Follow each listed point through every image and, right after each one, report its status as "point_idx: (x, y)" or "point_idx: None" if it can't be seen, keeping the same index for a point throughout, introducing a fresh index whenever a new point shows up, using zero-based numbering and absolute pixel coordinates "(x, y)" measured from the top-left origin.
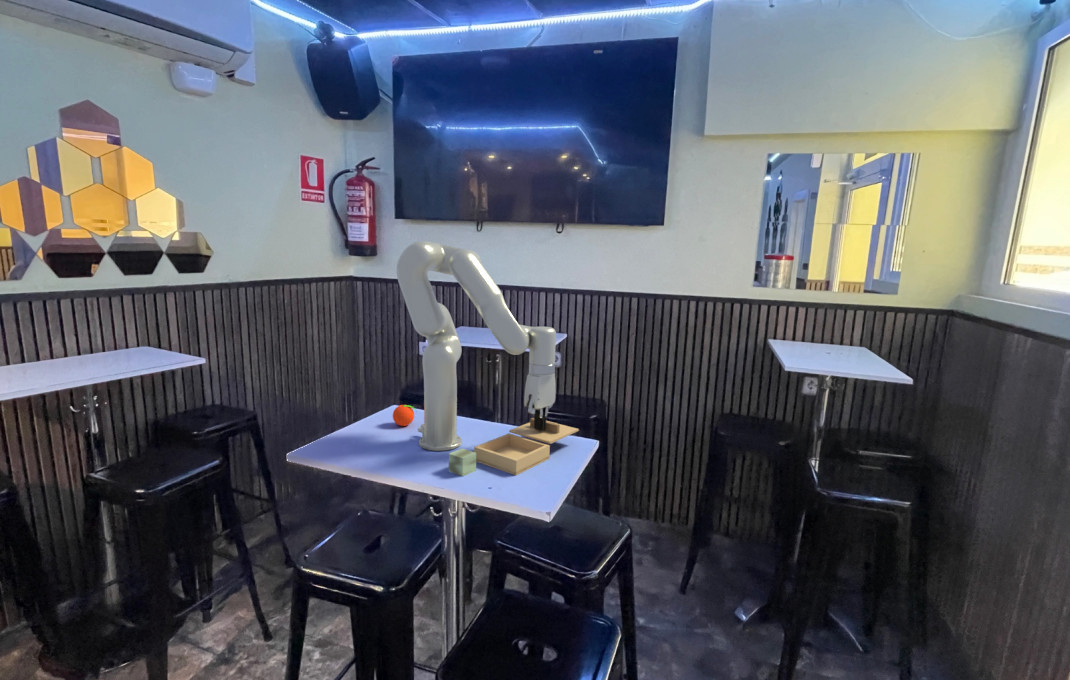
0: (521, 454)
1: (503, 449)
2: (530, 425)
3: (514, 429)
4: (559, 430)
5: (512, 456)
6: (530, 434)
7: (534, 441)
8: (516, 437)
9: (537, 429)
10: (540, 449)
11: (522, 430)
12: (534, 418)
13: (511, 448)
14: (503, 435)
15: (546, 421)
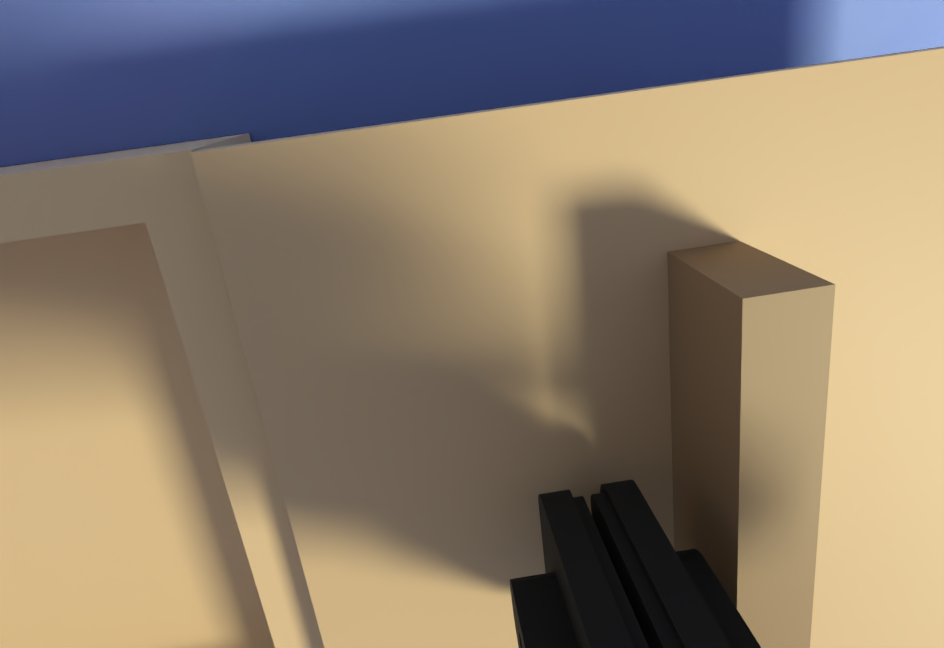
0: (148, 513)
1: (38, 264)
2: (676, 267)
3: (307, 189)
4: (815, 642)
5: (13, 499)
6: (365, 539)
7: (301, 641)
8: (195, 374)
9: (544, 549)
10: None
11: (397, 325)
12: (584, 640)
13: (157, 308)
14: (26, 178)
15: (804, 615)
